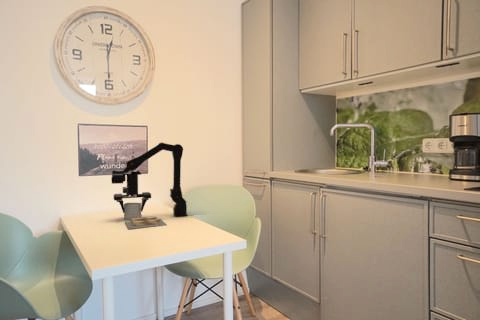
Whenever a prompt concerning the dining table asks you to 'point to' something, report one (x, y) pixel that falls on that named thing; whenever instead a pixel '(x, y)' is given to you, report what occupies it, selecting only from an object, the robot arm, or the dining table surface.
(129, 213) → the medicine box
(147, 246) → the dining table surface
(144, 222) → the slot frame
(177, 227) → the dining table surface
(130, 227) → the mat
